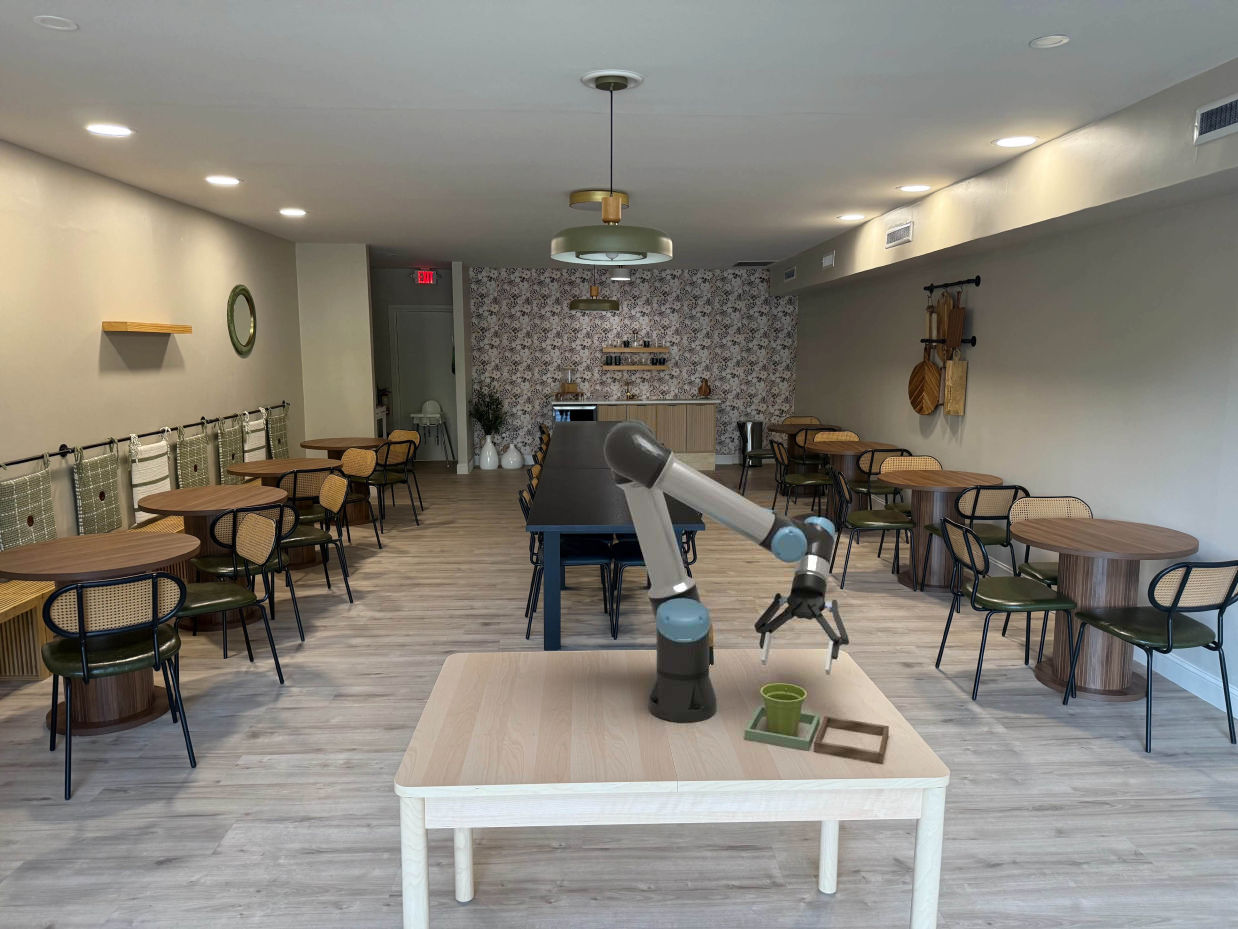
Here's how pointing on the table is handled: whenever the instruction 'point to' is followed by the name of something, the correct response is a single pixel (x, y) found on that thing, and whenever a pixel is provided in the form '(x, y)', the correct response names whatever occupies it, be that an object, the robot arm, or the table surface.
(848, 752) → the walnut collar
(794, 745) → the sage green collar
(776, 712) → the plant pot
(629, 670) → the table surface
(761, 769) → the table surface
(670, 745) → the table surface
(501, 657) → the table surface
